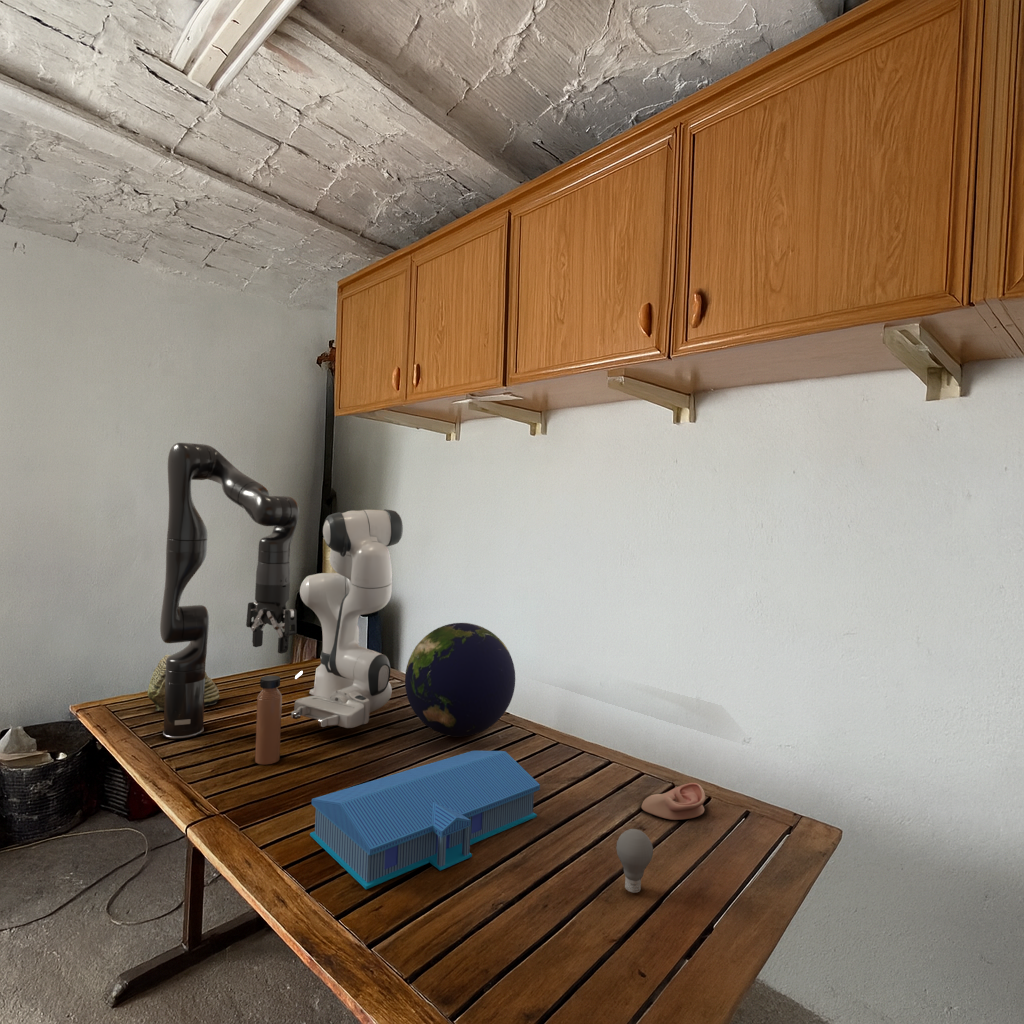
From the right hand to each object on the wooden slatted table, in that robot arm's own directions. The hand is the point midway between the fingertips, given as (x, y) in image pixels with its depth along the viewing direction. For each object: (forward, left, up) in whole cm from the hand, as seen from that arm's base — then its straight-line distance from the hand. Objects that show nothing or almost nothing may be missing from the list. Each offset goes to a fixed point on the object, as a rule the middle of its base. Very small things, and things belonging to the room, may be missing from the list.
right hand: (306, 719), depth 161 cm
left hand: (+12, -5, +20) cm, 24 cm away
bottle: (+11, -5, -6) cm, 13 cm away
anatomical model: (+20, +89, -6) cm, 91 cm away
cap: (+10, -5, +13) cm, 17 cm away
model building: (+36, +40, -6) cm, 54 cm away
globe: (-14, +37, -6) cm, 40 cm away
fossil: (-21, -45, -6) cm, 50 cm away
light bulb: (+51, +76, -6) cm, 92 cm away
